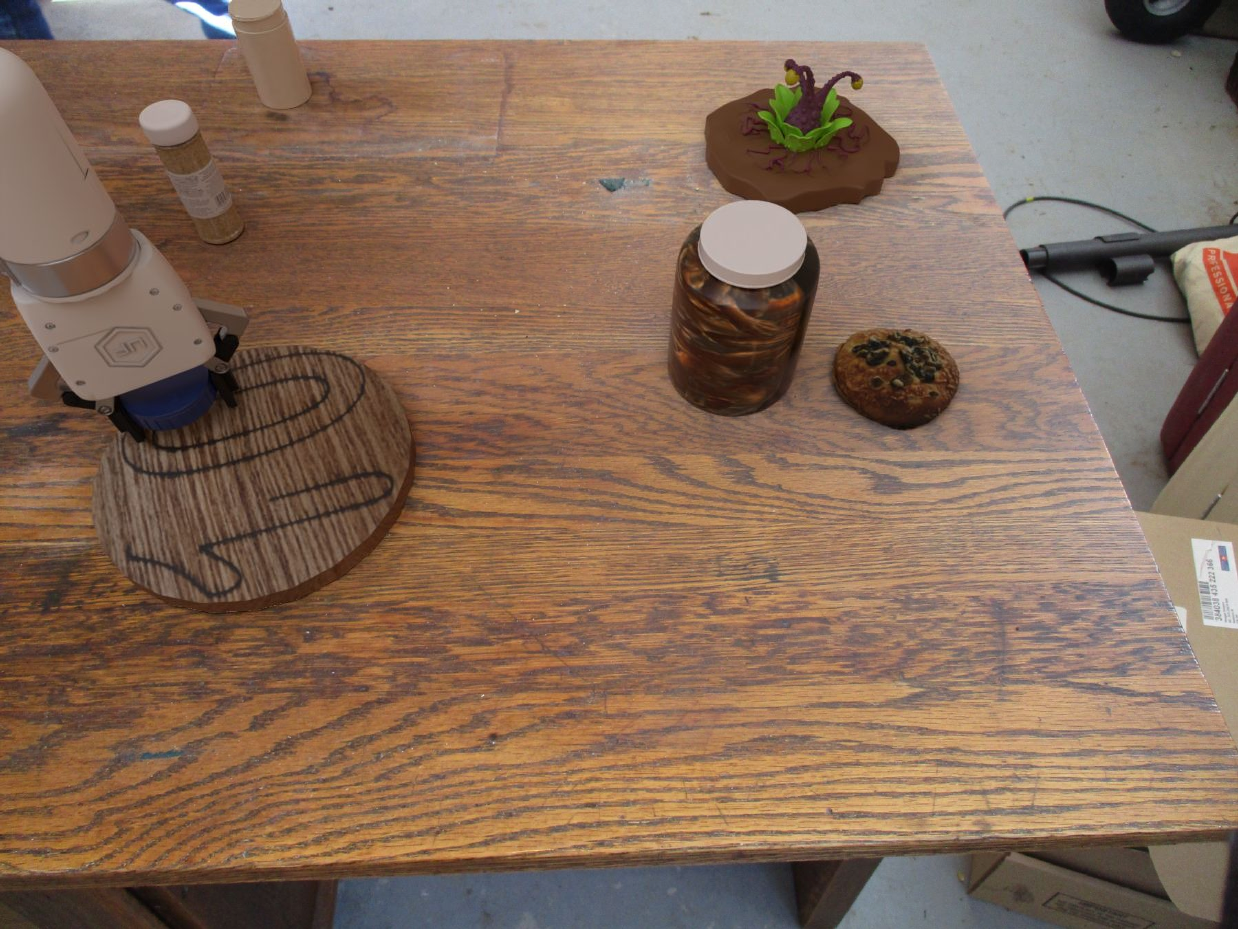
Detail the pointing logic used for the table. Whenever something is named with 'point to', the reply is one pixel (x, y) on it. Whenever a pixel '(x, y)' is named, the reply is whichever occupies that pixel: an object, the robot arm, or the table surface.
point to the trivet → (259, 485)
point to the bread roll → (895, 376)
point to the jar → (741, 307)
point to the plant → (799, 145)
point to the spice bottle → (192, 169)
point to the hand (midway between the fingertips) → (184, 411)
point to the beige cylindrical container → (270, 52)
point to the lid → (171, 400)
